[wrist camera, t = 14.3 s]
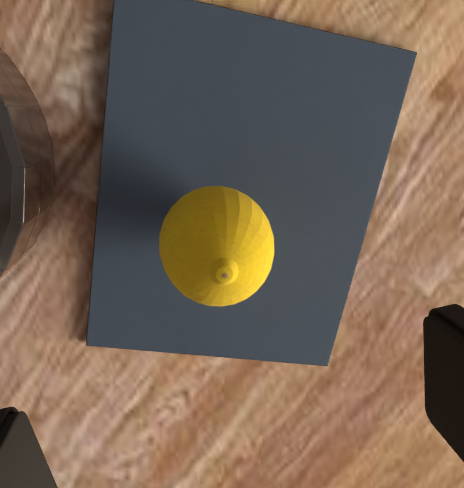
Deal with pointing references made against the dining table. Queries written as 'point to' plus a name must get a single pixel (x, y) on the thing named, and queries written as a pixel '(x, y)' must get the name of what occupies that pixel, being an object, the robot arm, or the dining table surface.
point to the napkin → (238, 171)
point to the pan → (22, 167)
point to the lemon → (216, 246)
